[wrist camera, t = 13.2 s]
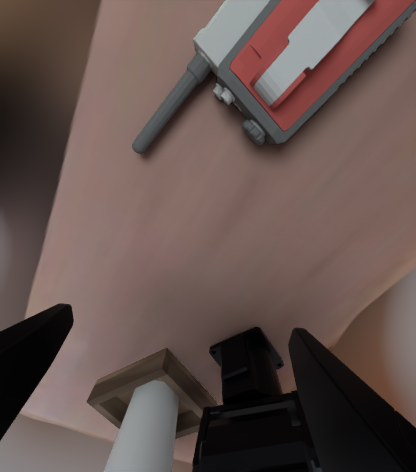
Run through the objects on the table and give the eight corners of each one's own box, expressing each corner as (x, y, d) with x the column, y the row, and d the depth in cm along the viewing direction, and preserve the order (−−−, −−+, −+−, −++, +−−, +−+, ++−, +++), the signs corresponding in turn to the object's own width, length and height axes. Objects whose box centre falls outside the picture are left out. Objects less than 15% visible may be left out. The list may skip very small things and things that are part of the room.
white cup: (124, 403, 29) (80, 525, 19) (139, 371, 26) (98, 492, 17) (171, 418, 29) (152, 542, 20) (190, 387, 27) (178, 512, 18)
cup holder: (215, 401, 29) (215, 424, 26) (149, 426, 31) (144, 449, 29) (166, 347, 26) (161, 368, 23) (97, 380, 28) (86, 401, 26)
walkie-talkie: (341, -142, 12) (130, 141, 18) (405, -290, 8) (104, 139, 14) (419, 0, 14) (208, 214, 20) (503, -61, 10) (206, 230, 16)
